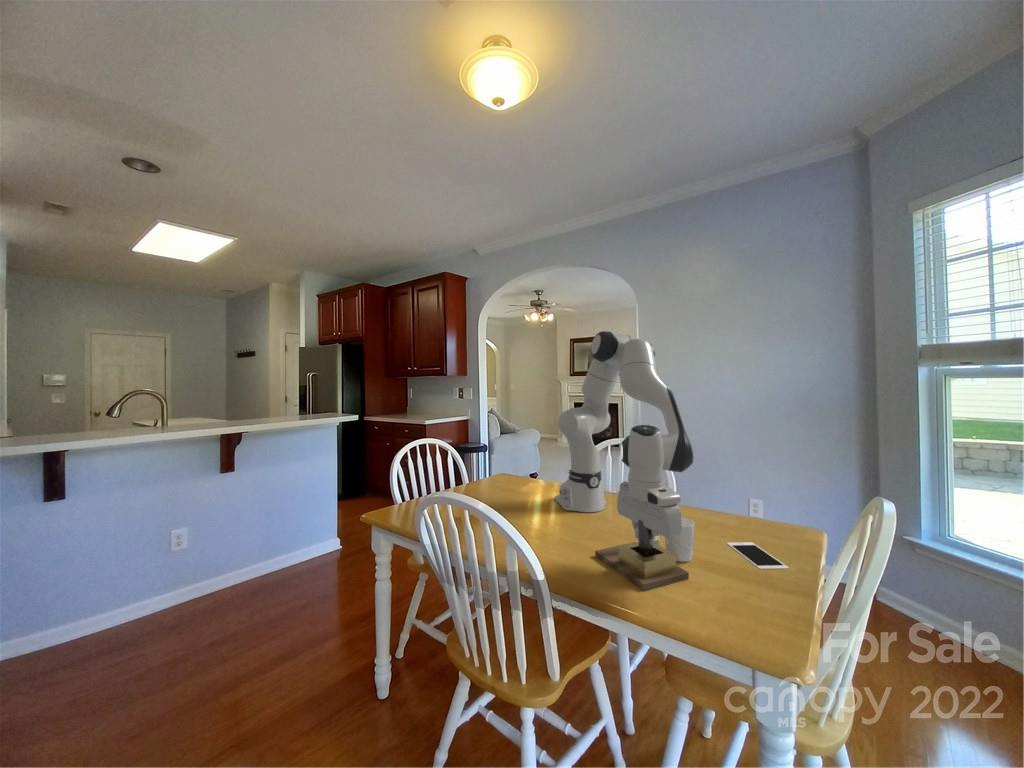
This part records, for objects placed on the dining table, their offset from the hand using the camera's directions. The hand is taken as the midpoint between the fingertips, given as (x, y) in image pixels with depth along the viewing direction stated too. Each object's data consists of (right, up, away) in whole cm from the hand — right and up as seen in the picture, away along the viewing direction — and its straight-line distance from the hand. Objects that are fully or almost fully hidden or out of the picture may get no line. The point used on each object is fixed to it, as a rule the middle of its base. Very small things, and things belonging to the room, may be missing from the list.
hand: (646, 542), depth 102 cm
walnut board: (-1, -8, +3) cm, 8 cm away
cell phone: (+33, -8, +8) cm, 35 cm away
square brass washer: (0, -6, 0) cm, 6 cm away
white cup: (+12, -8, +8) cm, 16 cm away
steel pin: (0, -5, 0) cm, 5 cm away
